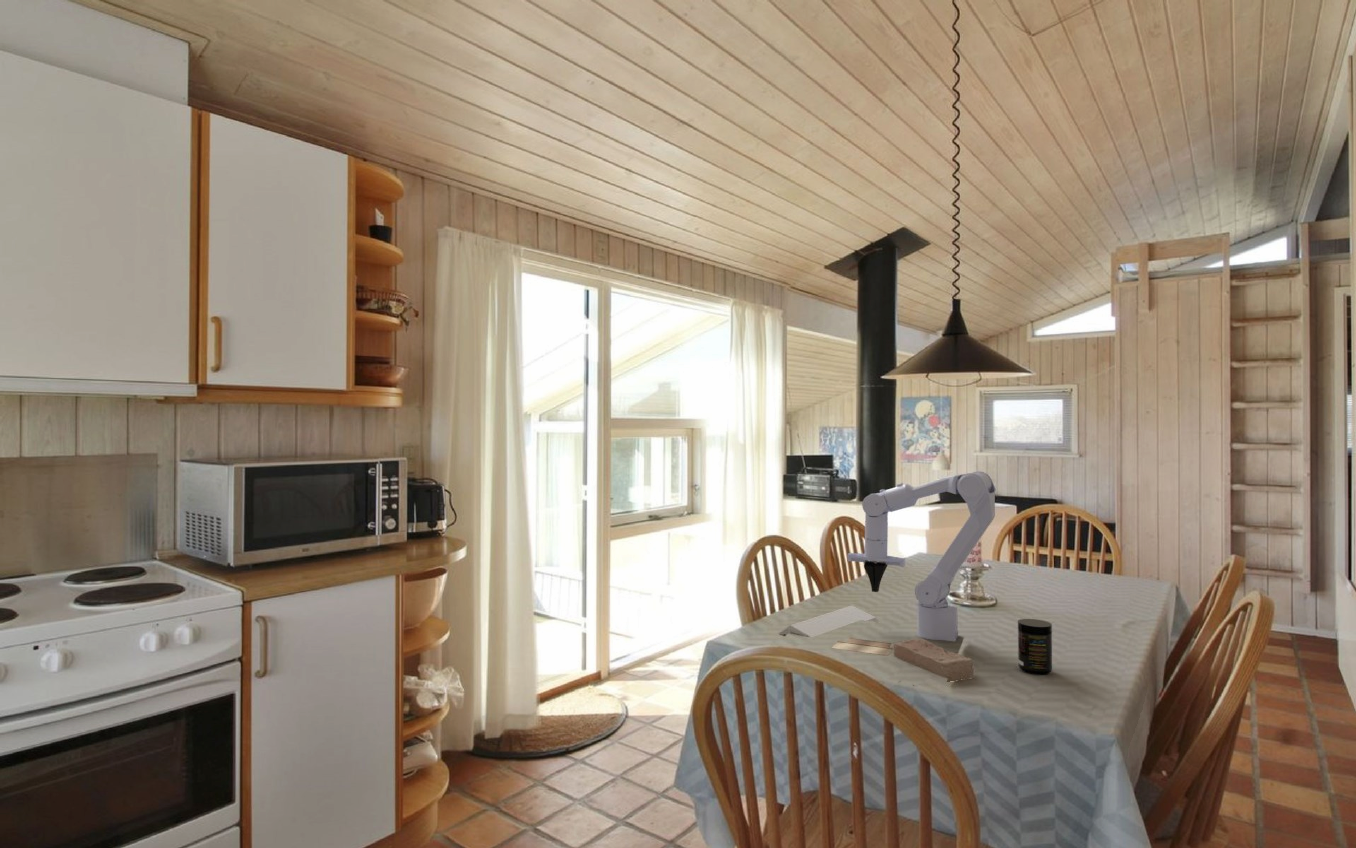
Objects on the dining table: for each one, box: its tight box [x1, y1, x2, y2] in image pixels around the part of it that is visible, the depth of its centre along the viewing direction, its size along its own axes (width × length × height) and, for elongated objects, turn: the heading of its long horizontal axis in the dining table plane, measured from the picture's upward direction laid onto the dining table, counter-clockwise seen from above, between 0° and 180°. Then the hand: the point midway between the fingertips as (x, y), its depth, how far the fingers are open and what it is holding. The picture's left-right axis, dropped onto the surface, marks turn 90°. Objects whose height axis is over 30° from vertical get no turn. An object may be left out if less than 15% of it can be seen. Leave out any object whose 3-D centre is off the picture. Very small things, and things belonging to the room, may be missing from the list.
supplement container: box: [1017, 618, 1053, 676], centre depth 157 cm, size 7×7×10 cm
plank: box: [846, 637, 892, 647], centre depth 176 cm, size 10×7×1 cm
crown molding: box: [778, 605, 879, 638], centre depth 192 cm, size 29×12×4 cm, turn 135°
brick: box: [893, 638, 975, 683], centre depth 159 cm, size 17×8×5 cm, turn 24°
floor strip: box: [831, 640, 894, 656], centre depth 170 cm, size 13×6×1 cm, turn 63°
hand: (875, 591), depth 189 cm, fingers closed
